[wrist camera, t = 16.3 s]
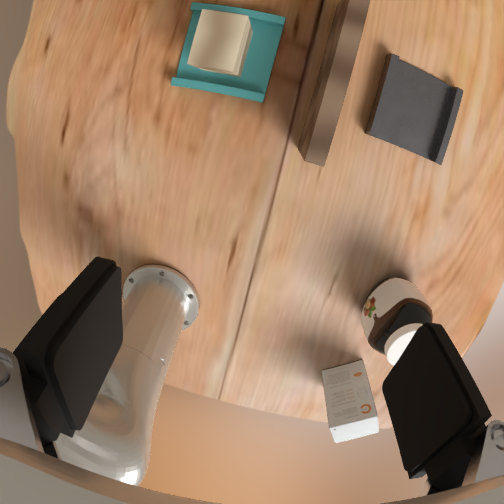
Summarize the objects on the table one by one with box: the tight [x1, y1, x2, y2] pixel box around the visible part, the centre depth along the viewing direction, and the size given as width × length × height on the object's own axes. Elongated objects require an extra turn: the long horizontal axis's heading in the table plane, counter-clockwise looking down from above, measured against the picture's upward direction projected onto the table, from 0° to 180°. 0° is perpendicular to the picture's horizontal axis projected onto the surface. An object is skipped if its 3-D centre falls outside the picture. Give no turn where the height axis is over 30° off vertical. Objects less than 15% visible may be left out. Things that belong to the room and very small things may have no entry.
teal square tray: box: [171, 2, 286, 102], centre depth 31 cm, size 11×11×2 cm
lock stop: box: [187, 9, 253, 77], centre depth 28 cm, size 4×7×8 cm
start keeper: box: [365, 54, 463, 165], centre depth 32 cm, size 11×11×2 cm
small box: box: [322, 360, 379, 443], centre depth 49 cm, size 8×6×13 cm
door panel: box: [298, 0, 370, 167], centre depth 29 cm, size 20×2×8 cm, turn 166°
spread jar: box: [361, 278, 433, 365], centre depth 42 cm, size 12×11×12 cm
